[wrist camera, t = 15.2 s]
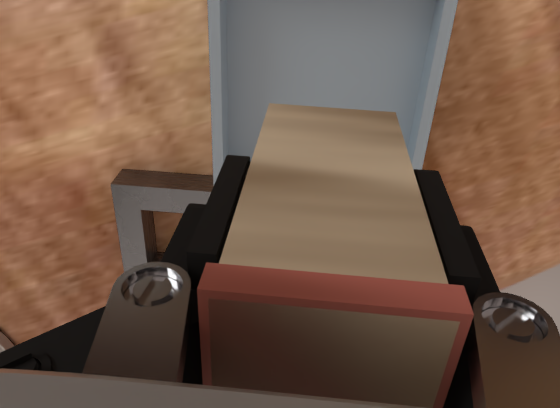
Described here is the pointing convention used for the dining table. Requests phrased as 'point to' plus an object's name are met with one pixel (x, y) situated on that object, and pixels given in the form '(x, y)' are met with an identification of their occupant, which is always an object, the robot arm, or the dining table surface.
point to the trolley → (324, 63)
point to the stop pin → (332, 269)
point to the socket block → (151, 207)
